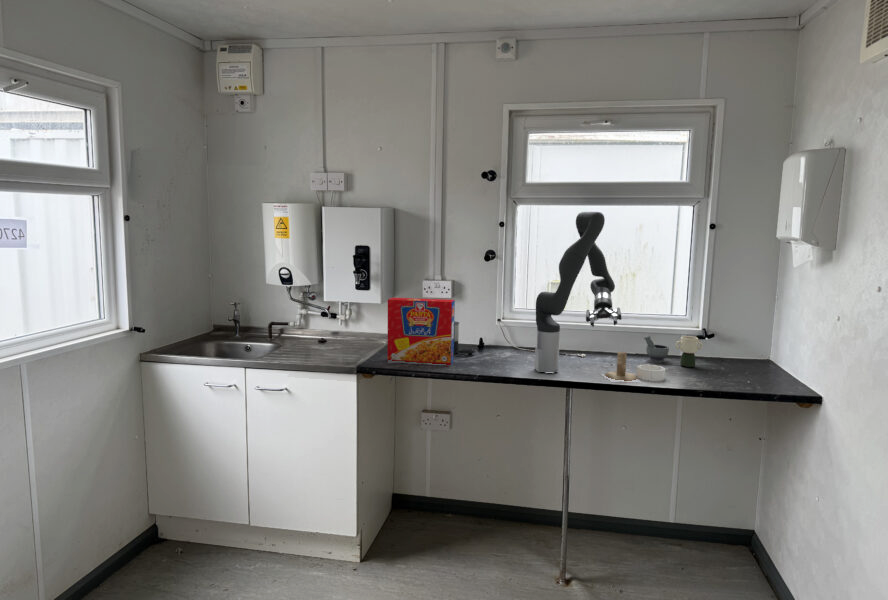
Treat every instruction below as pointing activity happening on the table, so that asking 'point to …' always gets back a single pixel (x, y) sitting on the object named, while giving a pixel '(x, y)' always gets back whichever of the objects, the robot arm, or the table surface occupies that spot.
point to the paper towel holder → (621, 369)
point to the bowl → (651, 372)
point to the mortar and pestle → (656, 351)
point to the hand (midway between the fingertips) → (603, 324)
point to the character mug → (688, 350)
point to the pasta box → (421, 330)
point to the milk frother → (456, 335)
